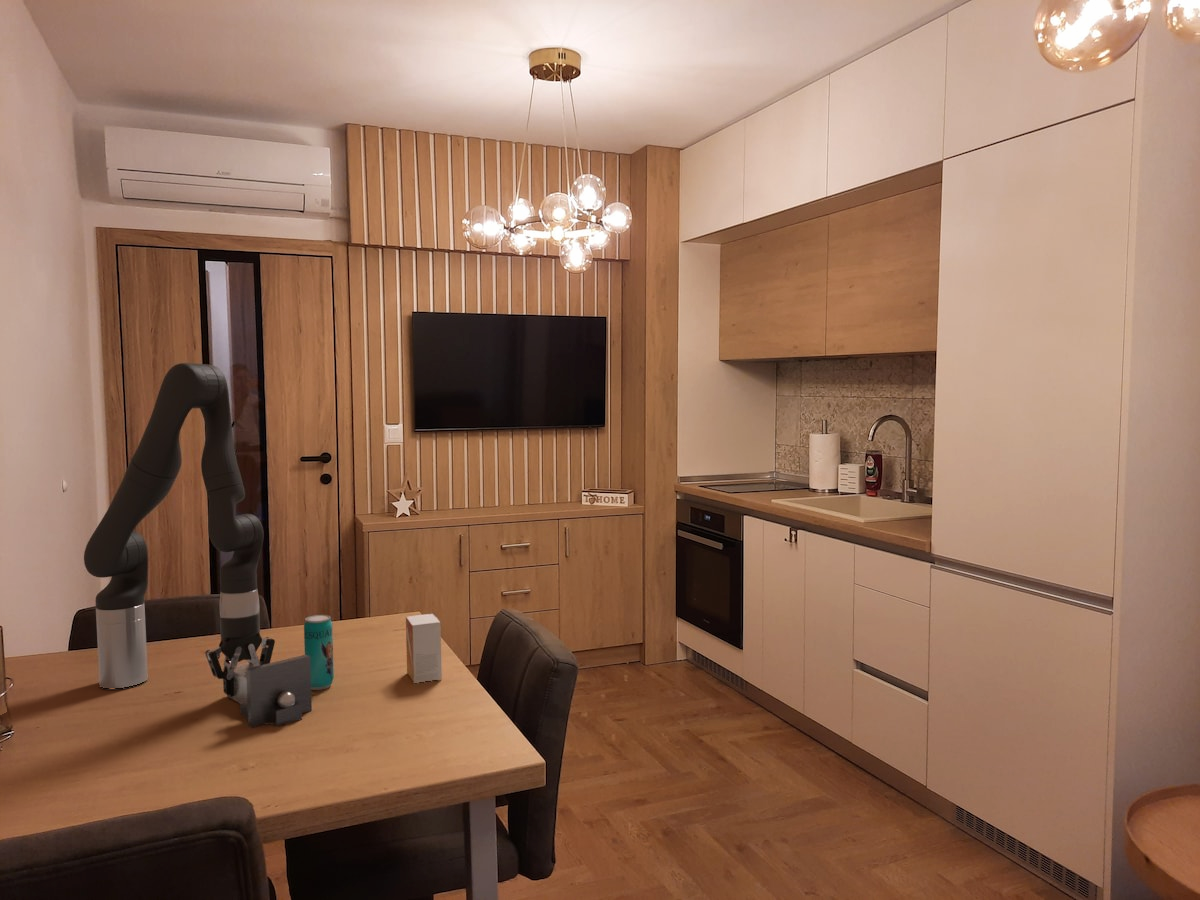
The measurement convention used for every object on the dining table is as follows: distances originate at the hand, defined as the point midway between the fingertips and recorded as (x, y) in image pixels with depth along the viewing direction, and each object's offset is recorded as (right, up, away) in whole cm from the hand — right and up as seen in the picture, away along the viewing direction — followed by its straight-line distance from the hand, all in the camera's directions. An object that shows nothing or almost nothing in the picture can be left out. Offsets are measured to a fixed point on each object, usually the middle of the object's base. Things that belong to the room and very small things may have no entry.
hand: (242, 692), depth 176 cm
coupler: (+11, -1, -11) cm, 16 cm away
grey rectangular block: (+3, -1, -2) cm, 4 cm away
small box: (+35, 0, +12) cm, 37 cm away
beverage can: (+14, -1, +6) cm, 15 cm away
